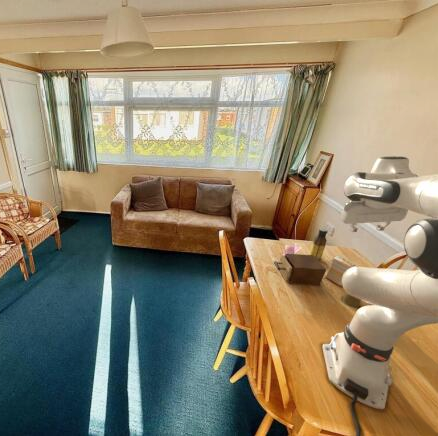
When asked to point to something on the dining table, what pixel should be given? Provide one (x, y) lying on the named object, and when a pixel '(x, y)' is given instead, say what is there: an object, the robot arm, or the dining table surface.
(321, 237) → the sauce bottle
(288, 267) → the drawer
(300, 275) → the cabinet
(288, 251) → the lily
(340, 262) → the supplement box
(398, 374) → the dining table surface
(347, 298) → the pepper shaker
